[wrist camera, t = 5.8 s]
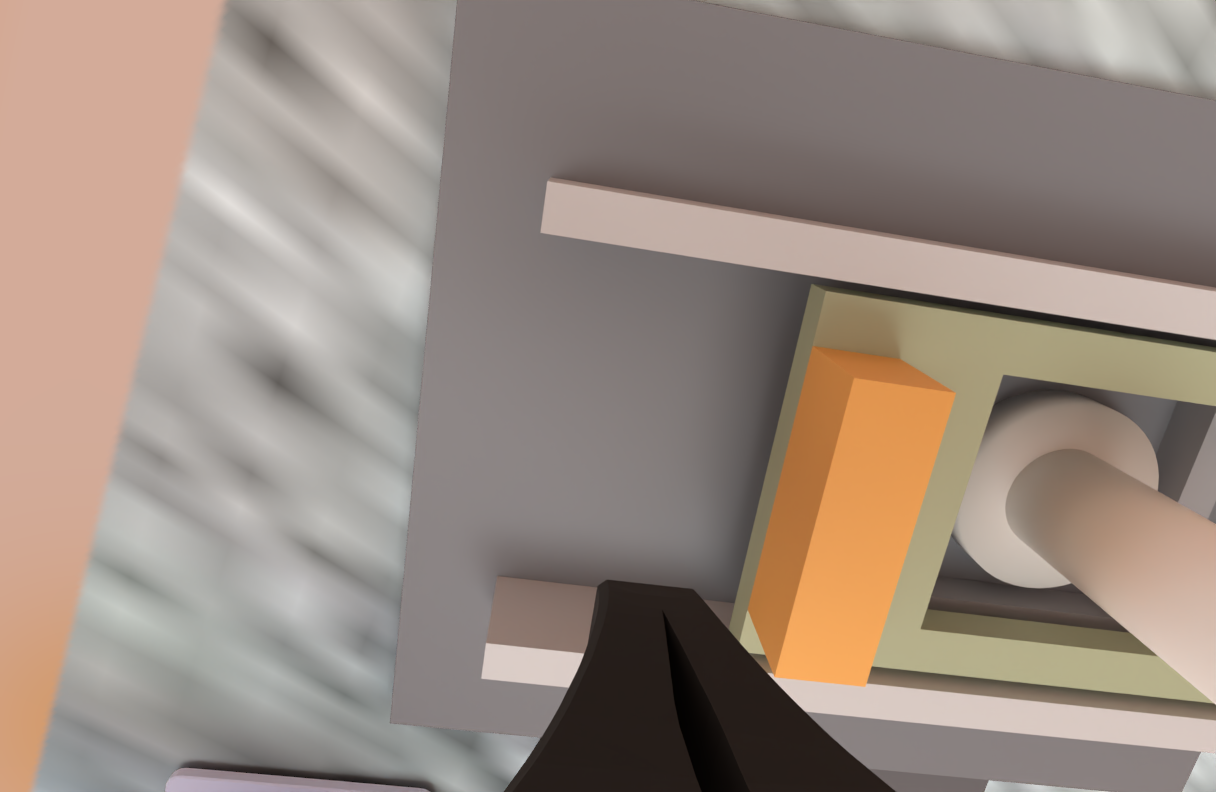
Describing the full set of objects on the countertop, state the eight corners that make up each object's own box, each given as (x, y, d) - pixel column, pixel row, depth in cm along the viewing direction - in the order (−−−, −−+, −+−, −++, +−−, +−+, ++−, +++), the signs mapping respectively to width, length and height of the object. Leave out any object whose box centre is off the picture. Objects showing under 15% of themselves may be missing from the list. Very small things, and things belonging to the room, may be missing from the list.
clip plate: (1382, 700, 21) (1533, 800, 18) (728, 627, 20) (762, 724, 16) (1547, 399, 19) (1759, 451, 15) (811, 283, 17) (870, 314, 14)
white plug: (1087, 575, 22) (1380, 810, 14) (914, 554, 21) (1118, 786, 13) (1154, 403, 20) (1524, 559, 12) (970, 376, 20) (1235, 521, 12)
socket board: (1155, 773, 25) (1260, 883, 22) (397, 699, 23) (363, 807, 19) (1441, 152, 20) (1653, 151, 16) (467, -33, 17) (438, -88, 13)
